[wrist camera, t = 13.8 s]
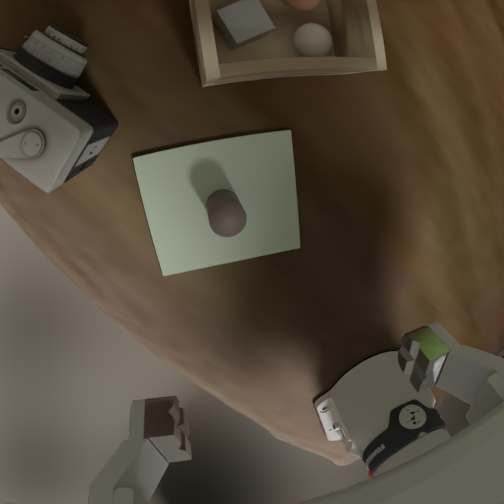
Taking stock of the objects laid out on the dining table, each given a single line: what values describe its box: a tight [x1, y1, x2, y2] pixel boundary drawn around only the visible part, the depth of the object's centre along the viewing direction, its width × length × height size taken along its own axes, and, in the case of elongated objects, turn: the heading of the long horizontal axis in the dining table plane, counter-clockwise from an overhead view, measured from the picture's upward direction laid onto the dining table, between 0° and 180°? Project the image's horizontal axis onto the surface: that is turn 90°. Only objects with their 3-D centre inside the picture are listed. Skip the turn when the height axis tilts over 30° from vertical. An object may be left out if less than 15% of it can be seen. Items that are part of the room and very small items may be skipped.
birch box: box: [189, 0, 387, 88], centre depth 17 cm, size 10×12×7 cm
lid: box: [133, 130, 300, 276], centre depth 25 cm, size 11×13×4 cm
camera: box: [0, 23, 118, 193], centre depth 15 cm, size 14×8×10 cm, turn 49°
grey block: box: [213, 0, 275, 51], centre depth 18 cm, size 3×3×3 cm
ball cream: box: [293, 23, 332, 57], centre depth 19 cm, size 3×3×3 cm
